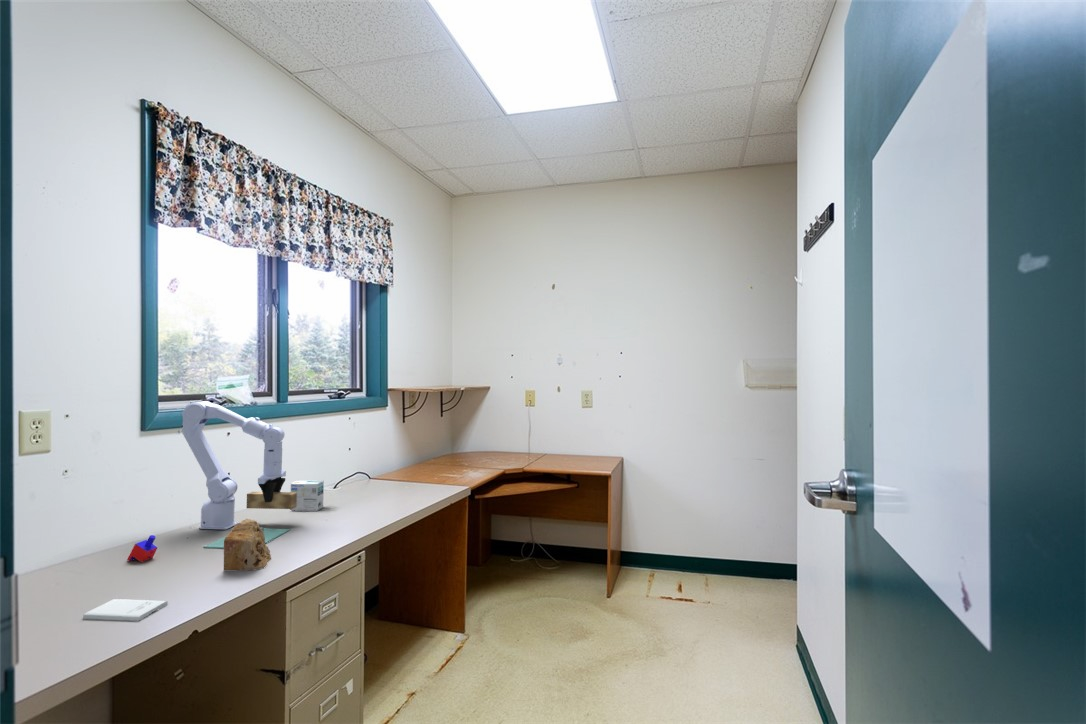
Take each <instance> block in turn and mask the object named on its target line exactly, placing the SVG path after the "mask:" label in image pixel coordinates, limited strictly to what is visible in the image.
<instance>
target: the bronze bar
mask: <svg viewBox="0 0 1086 724" xmlns="http://www.w3.org/2000/svg"><path fill="white" fill-rule="evenodd" d="M295 507H297V492H291V491H289V492H288V491H287V492H286V491H284V492H282V491H280V492H273V499H272V502H265V500H264V496H263V492H262V491H251V492H248V493H246V509H265V510H266V509H269V510H270V509H271V510H272V509H273V510H274V509H275V510H290V509H293V508H295Z"/></svg>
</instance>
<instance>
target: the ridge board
mask: <svg viewBox="0 0 1086 724" xmlns="http://www.w3.org/2000/svg"><path fill="white" fill-rule="evenodd" d="M260 529H261V530H262V531H263V533H264V535H265V543H266V544H268V543H270V542H272V541H274V540H276V539H277V538H279V537H281V536H283V535H285V534H287V532H290V531H291V529H290V528H267V527H266V528H264V527H260ZM226 536H227V535H225V536H223V537H221V538H219V539H218V540H215V541H213V542H210V543H209V544H207V545H204V546H203V549H218V548H224V540H225V537H226ZM278 536H279V537H278ZM273 539H274V540H273ZM271 540H272V541H271ZM269 541H270V542H269ZM267 542H268V543H267Z"/></svg>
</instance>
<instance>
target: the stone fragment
mask: <svg viewBox="0 0 1086 724" xmlns="http://www.w3.org/2000/svg"><path fill="white" fill-rule="evenodd" d="M239 522H240V523H237V524H236V525H235V526H233V527H232V530H231V531H230V532H229V533H228V534H227V535H225V536H226V537H225V536H224V537H225V540H224V549H223V571H224V570H237V571H255V570H254V569H258V570H261V569H260V568H263V569H265V568H266V567H267V566H268V564H267V562H268V561H269V560H270V561H271V560H272V557H271V554H270V553H271V550H270V549H269V546H268V545H267V544H265V535H264V533H263V531H262V530H261V529H260V528H261V527H260V525H259V522H257V520H255V519H249V518H245V519H243V520H241V521H239ZM270 561H269V562H270ZM269 562H268V563H269ZM266 565H267V566H266ZM265 566H266V567H265ZM264 567H265V568H264Z"/></svg>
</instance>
